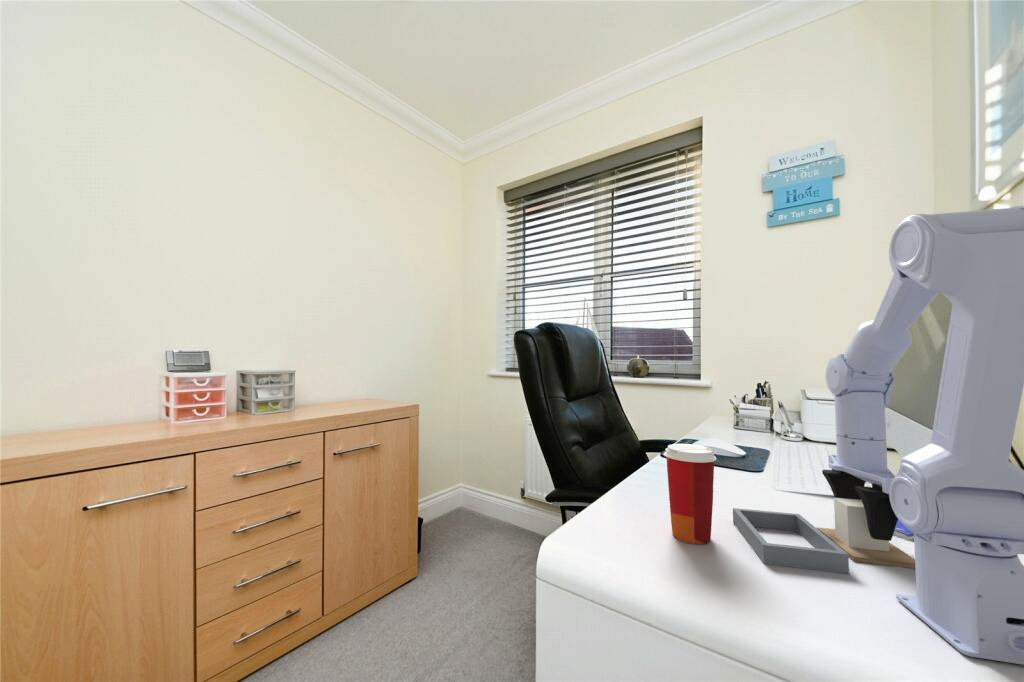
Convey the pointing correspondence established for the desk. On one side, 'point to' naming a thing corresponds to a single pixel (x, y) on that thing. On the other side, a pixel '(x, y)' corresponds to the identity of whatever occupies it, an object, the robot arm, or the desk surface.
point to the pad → (872, 553)
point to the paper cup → (690, 491)
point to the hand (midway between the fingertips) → (864, 527)
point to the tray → (815, 558)
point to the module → (854, 525)
